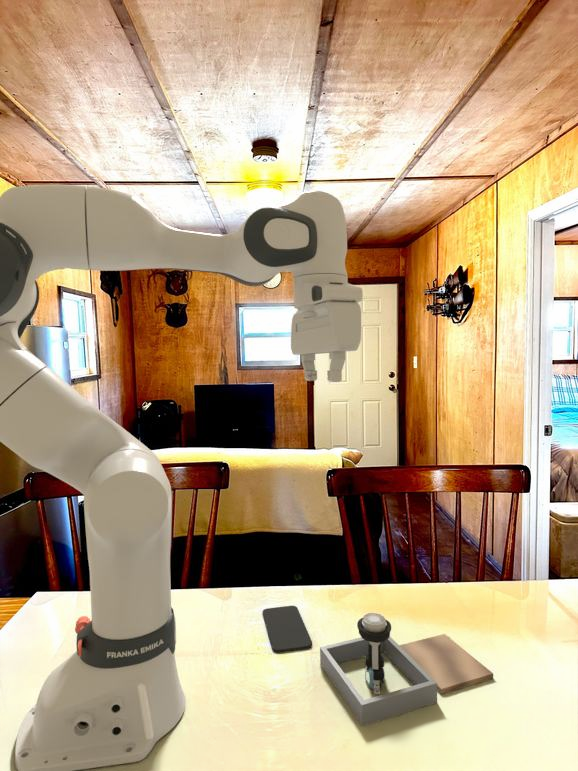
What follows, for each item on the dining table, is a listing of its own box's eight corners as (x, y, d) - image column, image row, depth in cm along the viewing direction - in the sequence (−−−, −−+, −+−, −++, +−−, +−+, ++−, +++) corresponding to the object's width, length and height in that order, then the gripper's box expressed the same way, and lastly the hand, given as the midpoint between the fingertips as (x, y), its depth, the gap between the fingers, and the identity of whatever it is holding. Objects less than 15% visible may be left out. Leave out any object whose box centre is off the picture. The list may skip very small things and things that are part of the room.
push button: (394, 698, 72) (393, 633, 71) (358, 696, 72) (357, 632, 72) (390, 669, 78) (389, 610, 78) (357, 668, 79) (356, 609, 79)
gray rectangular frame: (362, 725, 66) (361, 705, 66) (320, 664, 80) (320, 647, 80) (437, 702, 71) (437, 683, 70) (385, 648, 84) (385, 631, 84)
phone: (296, 604, 100) (314, 645, 85) (296, 608, 100) (314, 649, 85) (261, 609, 98) (273, 650, 83) (261, 612, 98) (273, 655, 83)
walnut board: (441, 694, 72) (441, 689, 72) (397, 650, 84) (397, 645, 84) (493, 678, 76) (493, 673, 76) (444, 638, 87) (444, 633, 87)
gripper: (281, 304, 86) (283, 380, 87) (329, 285, 67) (330, 383, 68) (313, 305, 88) (314, 379, 89) (368, 287, 69) (369, 382, 70)
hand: (322, 381), depth 78 cm, fingers open, 8 cm apart
